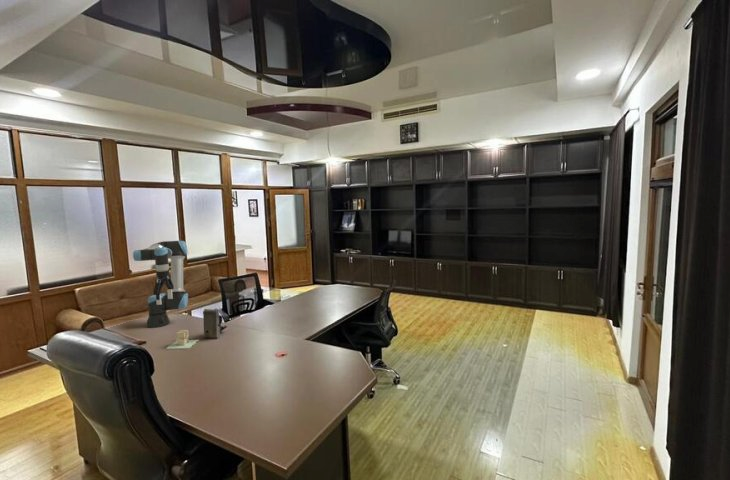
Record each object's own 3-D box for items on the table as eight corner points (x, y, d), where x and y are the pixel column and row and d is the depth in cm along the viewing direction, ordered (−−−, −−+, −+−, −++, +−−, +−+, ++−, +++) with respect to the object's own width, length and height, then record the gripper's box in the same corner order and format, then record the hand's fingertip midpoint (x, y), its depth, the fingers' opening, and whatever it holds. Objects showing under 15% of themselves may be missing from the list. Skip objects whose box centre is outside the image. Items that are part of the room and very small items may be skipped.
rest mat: (177, 340, 225) (177, 340, 225) (199, 340, 225) (199, 339, 225) (165, 349, 211) (165, 348, 211) (188, 348, 211) (188, 347, 211)
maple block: (181, 342, 220) (180, 330, 220) (188, 342, 220) (188, 330, 220) (176, 345, 215) (176, 333, 215) (184, 345, 215) (184, 332, 215)
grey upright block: (229, 331, 242) (227, 304, 241) (217, 339, 226) (215, 309, 226) (216, 332, 243) (214, 304, 242) (203, 339, 227) (202, 309, 227)
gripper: (166, 267, 240) (169, 296, 242) (145, 274, 215) (148, 307, 217) (177, 266, 240) (179, 296, 242) (157, 274, 215) (160, 306, 218)
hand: (164, 301), depth 230 cm, fingers open, 13 cm apart
